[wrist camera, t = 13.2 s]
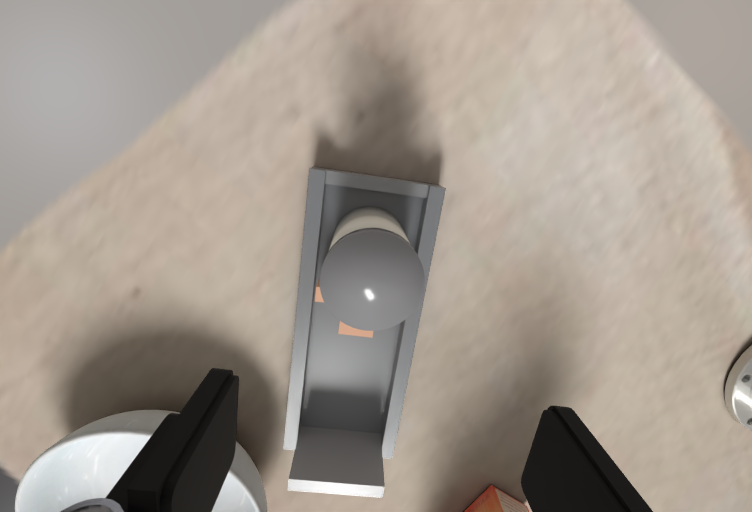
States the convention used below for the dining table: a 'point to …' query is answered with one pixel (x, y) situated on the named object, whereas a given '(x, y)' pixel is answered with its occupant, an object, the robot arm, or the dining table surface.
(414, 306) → the jar
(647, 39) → the dining table surface
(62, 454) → the serving bowl
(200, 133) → the dining table surface
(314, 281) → the lane
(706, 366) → the dining table surface
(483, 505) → the cracker box
